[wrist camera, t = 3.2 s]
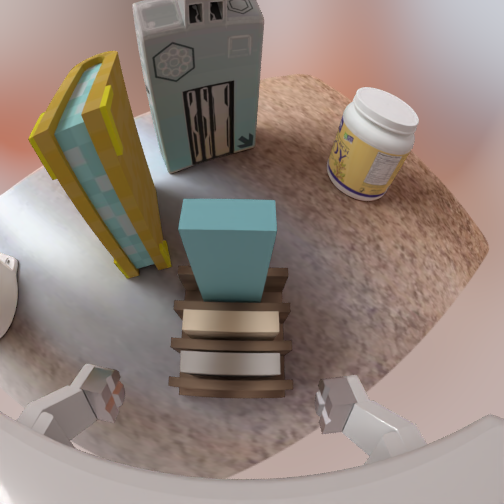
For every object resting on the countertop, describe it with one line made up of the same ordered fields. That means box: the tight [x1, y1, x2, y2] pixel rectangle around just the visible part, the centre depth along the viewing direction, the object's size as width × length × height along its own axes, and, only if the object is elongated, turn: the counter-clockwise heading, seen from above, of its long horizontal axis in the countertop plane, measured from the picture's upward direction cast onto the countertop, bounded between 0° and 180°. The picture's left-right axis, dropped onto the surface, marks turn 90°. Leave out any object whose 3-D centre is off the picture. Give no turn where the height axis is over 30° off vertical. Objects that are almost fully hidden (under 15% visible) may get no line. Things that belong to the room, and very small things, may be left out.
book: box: [28, 51, 172, 279], centre depth 28 cm, size 17×7×25 cm, turn 18°
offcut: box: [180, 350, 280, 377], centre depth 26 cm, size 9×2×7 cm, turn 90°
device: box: [132, 0, 264, 174], centre depth 35 cm, size 16×8×30 cm, turn 116°
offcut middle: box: [182, 309, 279, 341], centre depth 28 cm, size 9×2×7 cm, turn 90°
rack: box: [169, 266, 293, 398], centre depth 29 cm, size 12×16×6 cm
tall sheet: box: [178, 199, 277, 303], centre depth 25 cm, size 6×2×18 cm, turn 90°
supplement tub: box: [327, 87, 419, 201], centre depth 39 cm, size 12×12×17 cm
